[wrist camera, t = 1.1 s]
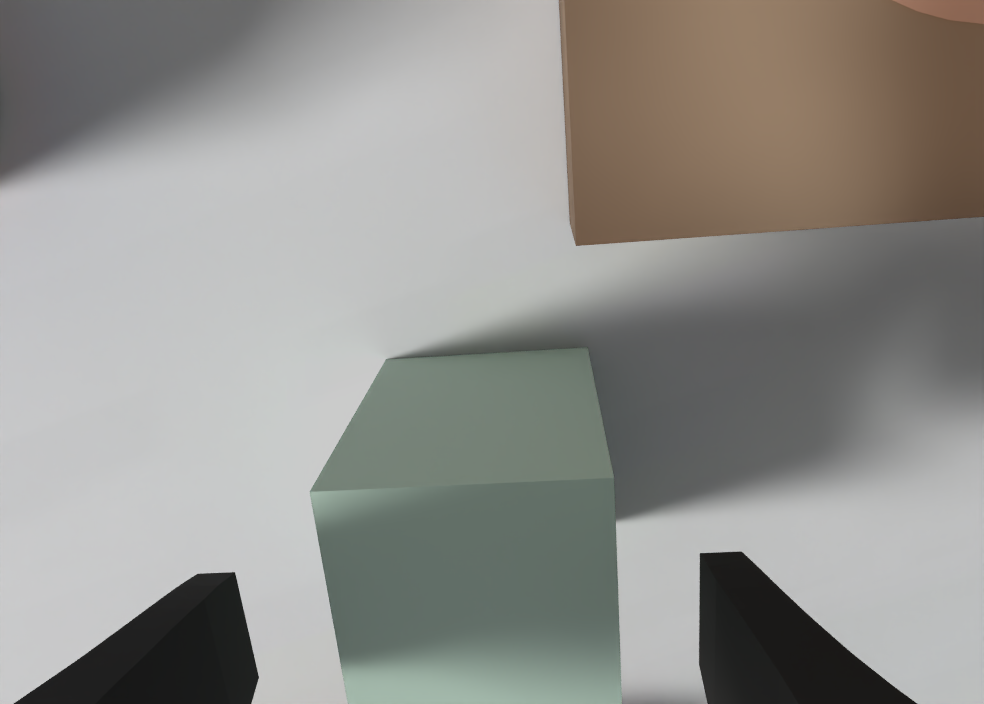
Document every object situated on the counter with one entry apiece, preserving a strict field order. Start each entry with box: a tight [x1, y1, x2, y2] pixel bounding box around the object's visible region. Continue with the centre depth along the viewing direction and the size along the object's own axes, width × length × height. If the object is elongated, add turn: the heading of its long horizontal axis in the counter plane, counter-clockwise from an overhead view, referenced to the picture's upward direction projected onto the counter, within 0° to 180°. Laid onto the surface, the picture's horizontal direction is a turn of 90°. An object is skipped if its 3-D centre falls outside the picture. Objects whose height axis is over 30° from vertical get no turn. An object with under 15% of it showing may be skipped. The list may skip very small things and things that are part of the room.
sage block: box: [310, 347, 622, 704], centre depth 14 cm, size 4×4×6 cm
